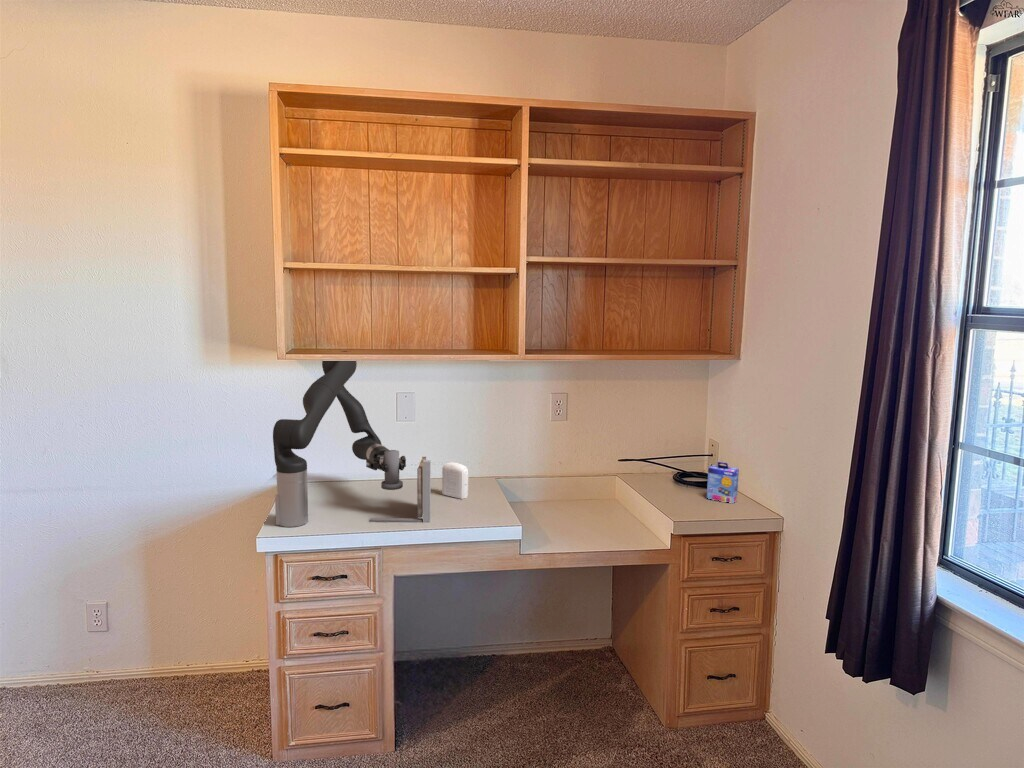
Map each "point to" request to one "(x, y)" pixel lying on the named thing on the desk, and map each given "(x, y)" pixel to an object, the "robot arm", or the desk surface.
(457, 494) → the photo printer
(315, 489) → the desk surface
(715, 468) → the ink cartridge box
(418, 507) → the door
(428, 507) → the wall frame
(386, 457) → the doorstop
